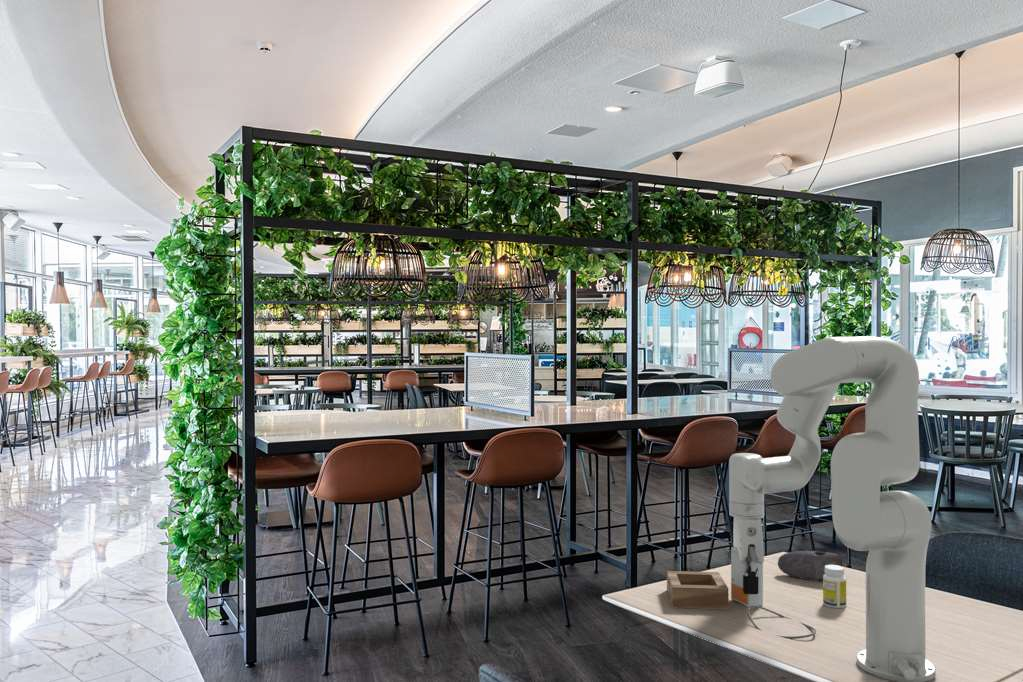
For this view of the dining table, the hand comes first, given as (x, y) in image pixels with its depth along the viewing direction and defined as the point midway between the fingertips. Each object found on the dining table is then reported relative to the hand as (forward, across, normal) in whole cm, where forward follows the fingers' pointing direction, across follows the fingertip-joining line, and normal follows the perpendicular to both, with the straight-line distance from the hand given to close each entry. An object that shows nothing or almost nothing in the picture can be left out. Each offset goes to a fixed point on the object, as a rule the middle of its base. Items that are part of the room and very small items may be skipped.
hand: (746, 587), depth 171 cm
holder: (+3, +1, +11) cm, 12 cm away
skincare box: (+4, 0, 0) cm, 4 cm away
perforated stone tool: (+4, +19, -19) cm, 27 cm away
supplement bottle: (+4, 0, -19) cm, 19 cm away
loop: (+4, -14, -4) cm, 15 cm away
